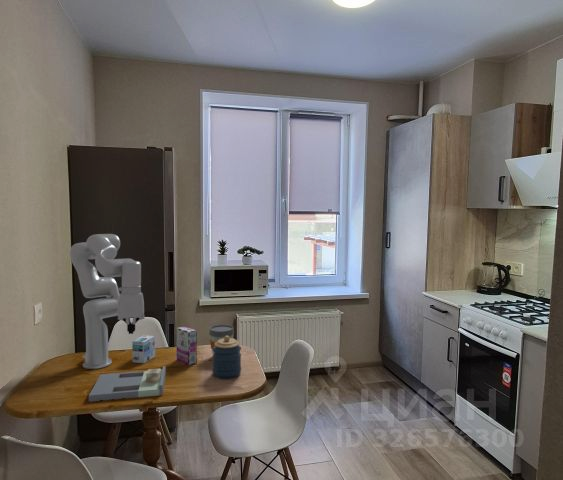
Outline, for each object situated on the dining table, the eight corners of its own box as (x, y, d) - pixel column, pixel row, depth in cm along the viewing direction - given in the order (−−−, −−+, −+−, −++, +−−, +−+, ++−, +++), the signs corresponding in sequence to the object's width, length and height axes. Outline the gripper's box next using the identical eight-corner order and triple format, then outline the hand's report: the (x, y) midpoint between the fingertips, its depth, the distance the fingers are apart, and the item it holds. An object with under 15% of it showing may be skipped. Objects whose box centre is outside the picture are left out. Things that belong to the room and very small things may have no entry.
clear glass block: (146, 383, 160) (146, 373, 160) (148, 378, 165) (148, 369, 165) (158, 382, 161) (158, 373, 160) (160, 377, 166) (160, 368, 165)
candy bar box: (197, 363, 189) (197, 330, 188) (188, 365, 185) (188, 332, 185) (184, 357, 197) (184, 325, 196) (176, 360, 193) (175, 327, 192)
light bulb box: (144, 363, 188) (144, 342, 187) (131, 362, 189) (131, 341, 188) (155, 356, 198) (155, 335, 198) (143, 355, 199) (143, 334, 199)
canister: (216, 381, 168) (216, 341, 167) (209, 370, 180) (209, 333, 179) (244, 376, 173) (245, 338, 172) (236, 366, 185) (236, 330, 184)
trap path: (88, 401, 149) (88, 391, 148) (100, 379, 169) (100, 371, 168) (162, 395, 155) (162, 385, 155) (165, 374, 175) (165, 366, 175)
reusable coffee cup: (234, 352, 205) (234, 324, 204) (233, 361, 192) (233, 331, 191) (210, 352, 204) (210, 324, 203) (207, 361, 191) (207, 331, 190)
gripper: (110, 292, 157) (110, 336, 159) (148, 291, 160) (148, 335, 162) (114, 288, 165) (114, 330, 166) (151, 288, 168) (150, 329, 169)
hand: (131, 332), depth 164 cm, fingers closed
